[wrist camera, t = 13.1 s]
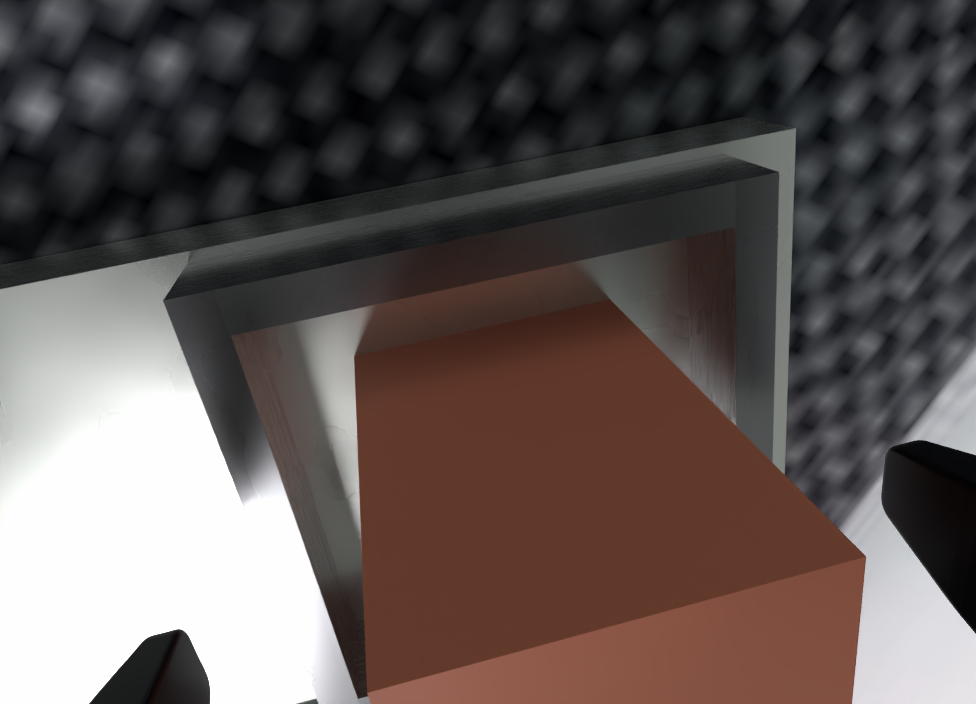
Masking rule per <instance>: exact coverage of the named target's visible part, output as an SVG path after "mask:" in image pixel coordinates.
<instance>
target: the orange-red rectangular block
mask: <svg viewBox="0 0 976 704" xmlns="http://www.w3.org/2000/svg"><path fill="white" fill-rule="evenodd" d="M354 369H355V394H356V420H357V445H358V471H359V497H360V522H361V548H362V574H363V599H364V625H365V651H366V676H367V694H368V697H369V700H370V703H371V704H852V696H853V686H854V676H855V666H856V655H857V645H858V635H859V624H860V614H861V604H862V593H863V583H864V573H865V562H866V556H865V555H864V554H863V553H862V552H861V551H860V550H859V549H858V548H857V547H856V546H855V545H854V544H853V543H852V542H851V541H850V540H849V539H848V538H847V537H846V536H845V535H844V534H843V533H842V532H841V531H840V530H839V529H838V528H837V527H836V526H835V525H834V524H833V523H832V522H831V521H830V520H829V519H828V518H827V517H826V516H825V515H824V514H823V513H822V512H821V511H820V510H819V509H818V508H817V507H816V506H815V505H814V504H813V503H812V502H811V501H810V500H809V499H808V498H807V497H806V496H805V495H804V494H803V493H802V492H801V491H800V490H799V489H798V488H797V487H796V486H795V485H794V484H793V483H792V482H791V481H790V480H789V479H788V478H787V477H786V476H785V475H784V474H783V473H782V472H781V471H780V470H779V469H778V468H777V467H776V466H775V465H774V464H773V463H772V462H771V461H770V460H769V459H768V458H767V457H766V456H765V455H764V454H763V453H762V452H761V451H760V450H759V449H758V448H757V447H756V446H755V445H754V444H753V443H752V442H751V440H750V439H749V438H748V437H747V436H746V435H745V434H744V433H743V432H742V431H741V430H740V429H739V428H738V427H737V426H736V425H735V424H734V423H733V422H732V421H731V420H730V419H729V418H728V417H727V416H726V415H725V414H724V413H723V412H722V411H721V410H720V409H719V408H718V407H717V406H716V405H715V404H714V403H713V402H712V401H711V400H710V399H709V398H708V397H707V396H706V395H705V394H704V393H703V392H702V391H701V390H700V389H699V388H698V387H697V386H696V385H695V384H694V383H693V382H692V381H691V380H690V379H689V378H688V377H687V376H686V375H685V374H684V373H683V372H682V371H681V370H680V369H679V368H678V367H677V366H676V365H675V364H674V363H673V362H672V361H671V360H670V359H669V358H668V357H667V356H666V355H665V354H664V353H663V352H662V351H661V350H660V349H659V348H658V347H657V346H656V345H655V344H654V343H653V342H652V341H651V340H650V339H649V338H648V337H647V336H646V335H645V334H644V333H643V332H642V331H641V330H640V329H639V328H638V327H637V326H636V325H635V324H634V323H633V322H632V321H631V320H630V319H629V318H628V317H627V316H626V315H625V314H624V313H623V312H622V311H621V310H620V309H619V308H618V307H617V306H616V305H615V304H614V303H613V302H612V301H611V300H610V299H607V300H603V301H598V302H594V303H589V304H585V305H581V306H576V307H572V308H567V309H563V310H558V311H554V312H549V313H545V314H541V315H536V316H532V317H527V318H523V319H518V320H514V321H509V322H505V323H501V324H496V325H492V326H487V327H483V328H478V329H474V330H469V331H465V332H460V333H456V334H452V335H447V336H443V337H438V338H434V339H429V340H425V341H420V342H416V343H412V344H407V345H403V346H398V347H394V348H389V349H385V350H380V351H376V352H372V353H367V354H363V355H358V356H354Z"/></svg>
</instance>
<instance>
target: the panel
mask: <svg viewBox="0 0 976 704" xmlns="http://www.w3.org/2000/svg"><path fill="white" fill-rule="evenodd" d="M795 144H796V128H793V127H788V126H784V125H779V124H775V123H770V122H765V121H761V120H756V119H752V118H747V117H741V118H736V119H731V120H726V121H721V122H716V123H711V124H706V125H701V126H696V127H691V128H686V129H681V130H676V131H671V132H666V133H661V134H656V135H651V136H646V137H640V138H635V139H630V140H625V141H620V142H615V143H610V144H605V145H600V146H595V147H590V148H585V149H580V150H575V151H570V152H565V153H560V154H555V155H550V156H545V157H540V158H535V159H530V160H525V161H520V162H515V163H510V164H505V165H500V166H495V167H490V168H485V169H480V170H475V171H470V172H465V173H460V174H455V175H450V176H445V177H440V178H435V179H430V180H425V181H420V182H415V183H410V184H405V185H400V186H395V187H389V188H384V189H379V190H374V191H369V192H364V193H359V194H354V195H349V196H344V197H339V198H334V199H329V200H324V201H319V202H314V203H309V204H304V205H299V206H294V207H289V208H284V209H279V210H274V211H269V212H264V213H259V214H254V215H249V216H244V217H239V218H234V219H229V220H224V221H219V222H214V223H209V224H204V225H199V226H194V227H189V228H184V229H179V230H174V231H169V232H164V233H159V234H154V235H149V236H144V237H138V238H133V239H128V240H123V241H118V242H113V243H108V244H103V245H98V246H93V247H88V248H83V249H78V250H73V251H68V252H63V253H58V254H53V255H48V256H43V257H38V258H33V259H28V260H23V261H18V262H13V263H8V264H3V265H0V704H88V703H89V702H90V701H91V700H92V698H93V697H94V696H95V695H96V694H97V693H98V692H99V690H100V689H101V688H102V687H103V686H104V685H105V683H106V682H107V681H108V680H109V679H110V678H111V677H112V675H113V674H114V673H115V672H116V671H117V670H118V668H119V667H120V666H121V665H122V664H123V663H124V662H125V660H126V659H127V658H128V657H129V656H130V655H131V653H132V652H133V651H134V650H135V649H136V648H137V647H138V645H139V644H140V643H141V642H142V641H143V640H144V639H145V638H147V637H149V636H151V635H154V634H158V633H162V632H166V631H170V630H174V629H183V630H185V631H186V632H187V633H188V635H189V636H190V638H191V641H192V643H193V645H194V647H195V649H196V651H197V653H198V655H199V657H200V660H201V662H202V664H203V666H204V668H205V670H206V672H207V675H208V678H209V681H210V687H211V704H371V703H370V700H369V697H368V694H367V676H366V651H365V625H364V599H363V574H362V548H361V522H360V497H359V471H358V445H357V420H356V394H355V369H354V356H358V355H363V354H367V353H372V352H376V351H380V350H385V349H389V348H394V347H398V346H403V345H407V344H412V343H416V342H420V341H425V340H429V339H434V338H438V337H443V336H447V335H452V334H456V333H460V332H465V331H469V330H474V329H478V328H483V327H487V326H492V325H496V324H501V323H505V322H509V321H514V320H518V319H523V318H527V317H532V316H536V315H541V314H545V313H549V312H554V311H558V310H563V309H567V308H572V307H576V306H581V305H585V304H589V303H594V302H598V301H603V300H607V299H610V300H611V301H612V302H613V303H614V304H615V305H616V306H617V307H618V308H619V309H620V310H621V311H622V312H623V313H624V314H625V315H626V316H627V317H628V318H629V319H630V320H631V321H632V322H633V323H634V324H635V325H636V326H637V327H638V328H639V329H640V330H641V331H642V332H643V333H644V334H645V335H646V336H647V337H648V338H649V339H650V340H651V341H652V342H653V343H654V344H655V345H656V346H657V347H658V348H659V349H660V350H661V351H662V352H663V353H664V354H665V355H666V356H667V357H668V358H669V359H670V360H671V361H672V362H673V363H674V364H675V365H676V366H677V367H678V368H679V369H680V370H681V371H682V372H683V373H684V374H685V375H686V376H687V377H688V378H689V379H690V380H691V381H692V382H693V383H694V384H695V385H696V386H697V387H698V388H699V389H700V390H701V391H702V392H703V393H704V394H705V395H706V396H707V397H708V398H709V399H710V400H711V401H712V402H713V403H714V404H715V405H716V406H717V407H718V408H719V409H720V410H721V411H722V412H723V413H724V414H725V415H726V416H727V417H728V418H729V419H730V420H731V421H732V422H733V423H734V424H735V425H736V426H737V427H738V428H739V429H740V430H741V431H742V432H743V433H744V434H745V435H746V436H747V437H748V438H749V439H750V440H751V442H752V443H753V444H754V445H755V446H756V447H757V448H758V449H759V450H760V451H761V452H762V453H763V454H764V455H765V456H766V457H767V458H768V459H769V460H770V461H771V462H772V463H773V464H774V465H775V466H776V467H777V468H778V469H779V470H780V471H781V472H782V473H783V474H784V475H785V451H786V420H787V389H788V359H789V328H790V297H791V266H792V236H793V205H794V174H795Z"/></svg>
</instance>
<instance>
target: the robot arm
mask: <svg viewBox="0 0 976 704" xmlns="http://www.w3.org/2000/svg"><path fill="white" fill-rule="evenodd" d="M881 499H882V505H883V508H884V511H885V513H886V515H887V516H888V518H889V519H890V521H891V522H892V523H893V525H894V526H895V528H896V529H897V530H898V532H899V533H900V534H901V536H902V537H903V539H904V540H905V541H906V543H907V544H908V545H909V547H910V548H911V549H912V551H913V552H914V554H915V555H916V556H917V558H918V559H919V560H920V562H921V563H922V565H923V566H924V567H925V569H926V570H927V571H928V573H929V574H930V576H931V577H932V578H933V580H934V581H935V582H936V584H937V585H938V587H939V588H940V589H941V591H942V592H943V593H944V595H945V596H946V597H947V599H948V600H949V601H950V603H951V604H952V605H953V607H954V608H955V609H956V610H957V612H958V613H959V614H960V616H961V617H962V618H963V619H964V620H965V621H966V623H967V624H968V625H969V626H970V627H971V629H972V630H973V631H974V632H975V633H976V455H973V454H969V453H966V452H962V451H959V450H955V449H952V448H948V447H945V446H941V445H938V444H935V443H931V442H928V441H923V440H917V441H912V442H908V443H904V444H900V445H896V446H893V447H892V448H890V449H889V450H888V452H887V454H886V457H885V466H884V475H883V485H882V494H881ZM88 704H211V687H210V681H209V678H208V675H207V672H206V670H205V668H204V666H203V664H202V662H201V660H200V657H199V655H198V653H197V651H196V649H195V647H194V645H193V643H192V641H191V638H190V636H189V635H188V633H187V632H186V631H185V630H183V629H174V630H170V631H166V632H162V633H158V634H154V635H151V636H149V637H147V638H145V639H144V640H143V641H142V642H141V643H140V644H139V645H138V647H137V648H136V649H135V650H134V651H133V652H132V653H131V655H130V656H129V657H128V658H127V659H126V660H125V662H124V663H123V664H122V665H121V666H120V667H119V668H118V670H117V671H116V672H115V673H114V674H113V675H112V677H111V678H110V679H109V680H108V681H107V682H106V683H105V685H104V686H103V687H102V688H101V689H100V690H99V692H98V693H97V694H96V695H95V696H94V697H93V698H92V700H91V701H90V702H89V703H88Z"/></svg>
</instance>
